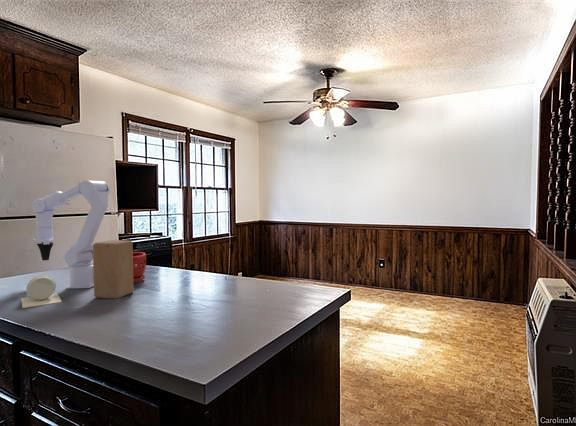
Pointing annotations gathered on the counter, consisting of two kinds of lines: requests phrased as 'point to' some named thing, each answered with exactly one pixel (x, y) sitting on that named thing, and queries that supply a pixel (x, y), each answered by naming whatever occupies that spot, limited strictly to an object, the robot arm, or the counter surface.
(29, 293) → the coffee cup
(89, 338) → the counter surface
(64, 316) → the counter surface
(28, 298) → the mat
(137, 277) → the plant pot
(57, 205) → the robot arm
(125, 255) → the wooden block
